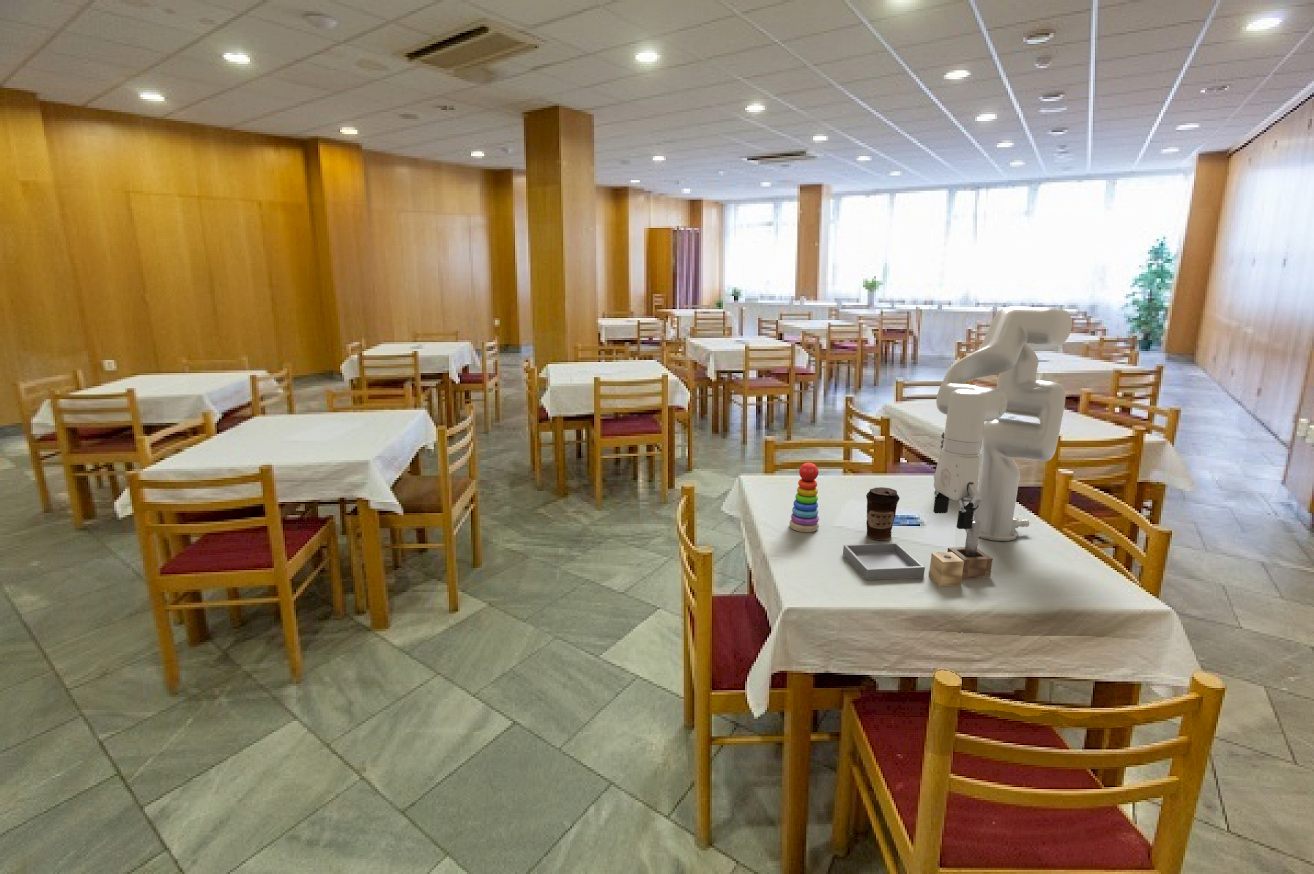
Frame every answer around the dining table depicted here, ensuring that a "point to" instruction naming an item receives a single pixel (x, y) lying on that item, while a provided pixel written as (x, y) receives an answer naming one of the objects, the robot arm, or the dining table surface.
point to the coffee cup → (881, 512)
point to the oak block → (946, 569)
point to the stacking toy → (806, 501)
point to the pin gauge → (972, 539)
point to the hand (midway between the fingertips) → (951, 520)
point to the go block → (974, 563)
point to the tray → (883, 561)
